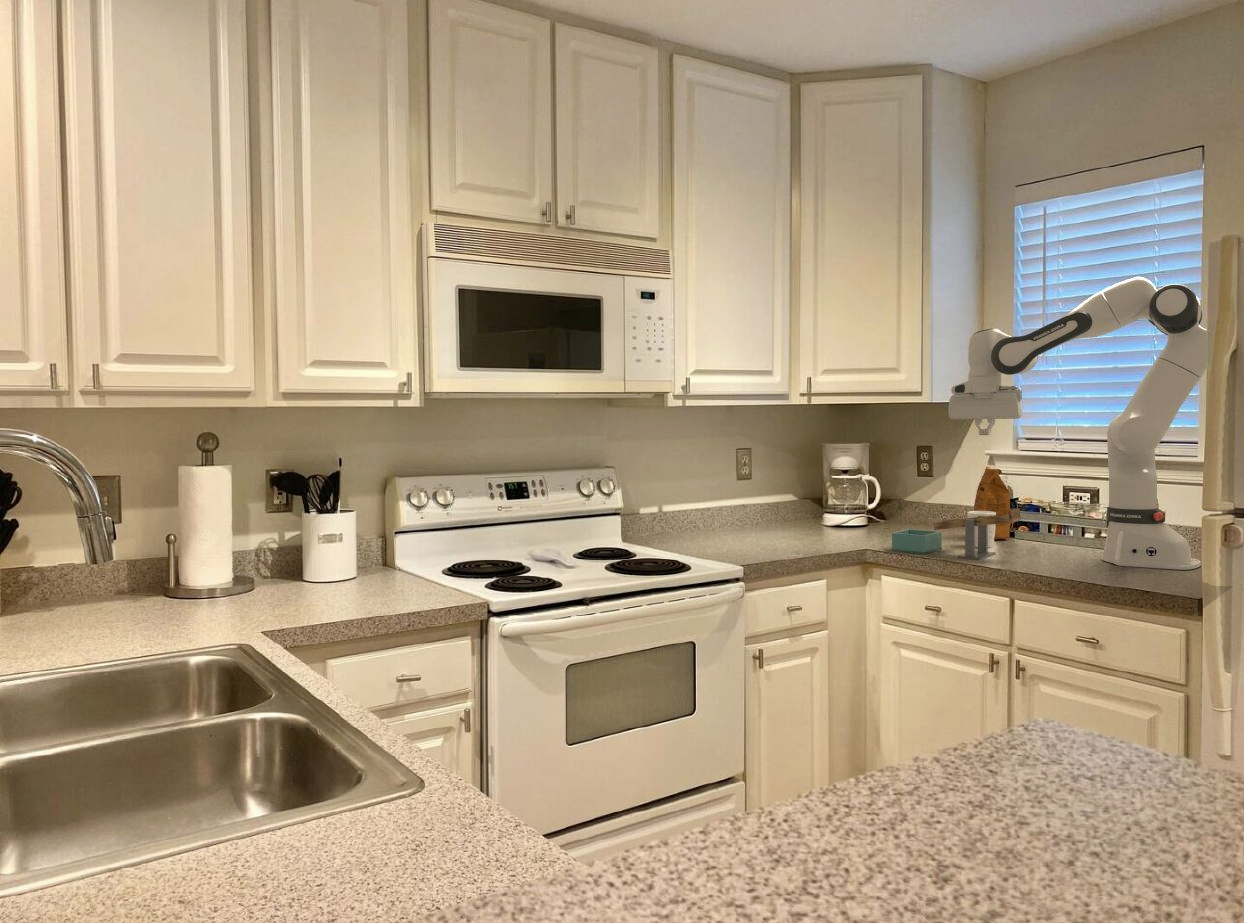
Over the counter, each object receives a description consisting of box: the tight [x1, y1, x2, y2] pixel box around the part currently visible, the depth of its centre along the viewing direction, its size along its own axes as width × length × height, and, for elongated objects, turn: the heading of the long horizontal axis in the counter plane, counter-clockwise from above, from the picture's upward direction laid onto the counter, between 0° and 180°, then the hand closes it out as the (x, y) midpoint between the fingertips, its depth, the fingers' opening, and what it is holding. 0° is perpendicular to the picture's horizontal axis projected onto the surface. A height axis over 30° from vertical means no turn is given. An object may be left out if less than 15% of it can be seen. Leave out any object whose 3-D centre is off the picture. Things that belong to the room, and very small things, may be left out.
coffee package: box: [973, 466, 1011, 541], centre depth 293 cm, size 10×12×22 cm
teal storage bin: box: [891, 528, 943, 555], centre depth 273 cm, size 10×10×5 cm
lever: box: [933, 508, 1022, 531], centre depth 263 cm, size 22×13×3 cm, turn 47°
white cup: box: [966, 510, 996, 549], centre depth 278 cm, size 8×8×10 cm
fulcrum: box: [957, 516, 996, 561], centre depth 261 cm, size 6×11×11 cm, turn 137°
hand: (984, 435), depth 271 cm, fingers closed
